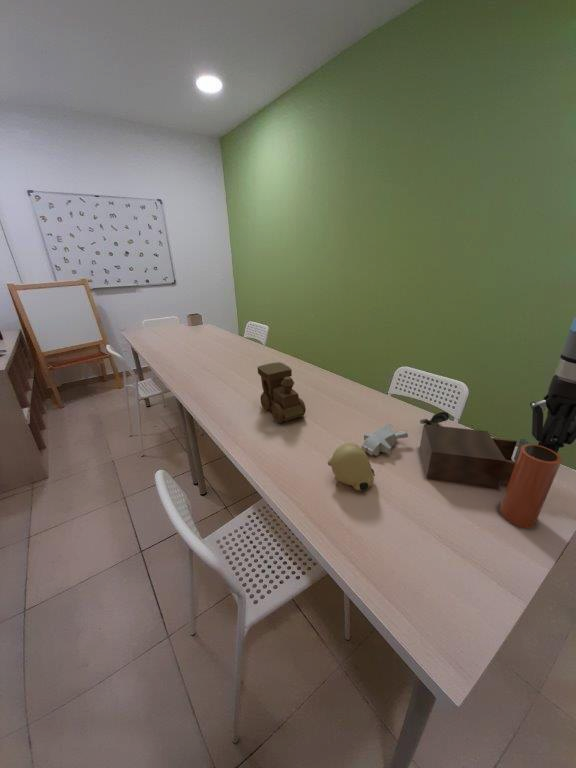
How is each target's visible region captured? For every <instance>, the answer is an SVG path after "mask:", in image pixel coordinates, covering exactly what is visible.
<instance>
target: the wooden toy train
mask: <svg viewBox="0 0 576 768" xmlns="http://www.w3.org/2000/svg"><path fill="white" fill-rule="evenodd" d="M292 371H293V369H292V368H290V366H288V365H286V364H285V363H283V362H280V361H279V362H271V363H270V362H269V363H266V364H265V363H264V364H262V365H259V366H257V374H258V375H259V376H260V380H261V387H262V393H261V395H260V404H261V407H262V409H263V410H264V411H266V412H267V411H270V410H272V411H271V413H272V417H273V419H274V420H275V422H277V423H278V424H279V423H281V424H282V422H284V421H285V422H288V421H290V420H294V419H296V418H297V419H298V418H300V417H304V416H305V414H306V411H307V410H306V409H307V408H306V405H305V402H304V400H303V399H302V398H301V397H300V396H299V393H298V392H297V391H296V390H295V389H293V388H294V385H295V381H294V379H293V378H292V377H293V376H292V375H293V373H292Z"/></svg>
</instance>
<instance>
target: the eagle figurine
mask: <svg viewBox="0 0 576 768" xmlns="http://www.w3.org/2000/svg"><path fill="white" fill-rule="evenodd" d="M449 418H450V414H449V413H448V412H446V411H440V412H438V413H435V414H433V415H432V417H431V418H430V419H428V418H422V419H420V420H419V424H421V425H434V426H442V425H441V424H440V423H443V422H447V421H448V420H449Z"/></svg>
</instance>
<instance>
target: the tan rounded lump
mask: <svg viewBox="0 0 576 768" xmlns="http://www.w3.org/2000/svg"><path fill="white" fill-rule="evenodd" d="M327 466H329V467H331V470H332V473H333V475H334V480H335V482H341V483H343V484H345V485H348V486H352V488H353V489H354V490H355V491H359V492H360V491H361V492H365V491H367V490H368V489H369V488H370V487H371V486H372V484H373V482H374V480H375V479H374V478H375V475H376V474H375V470H374V469H373V468H372V464H371V462H370V460H369V457H368V455H367V454H366V452H365V451H364V450H362V446H359V445H358V444H357V443H355V442H349V443H345V444H341V445H340V446H338V447H337V448H336V449H335V450H334V452H333V454H332V456H331V458H330V459H328V461H327Z"/></svg>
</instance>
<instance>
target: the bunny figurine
mask: <svg viewBox="0 0 576 768" xmlns="http://www.w3.org/2000/svg"><path fill="white" fill-rule="evenodd" d="M393 428H394V425H393V424H392V423H387V424H386V425H385V427H379V428H377V429H376V430H375V432H374V433H368V432H367V433H366V432H365V433H364V434H363V443H362V445H361V448H362V450H363V451H364V452H365V453H367V454H369V455H370V456H376V457H377V456H379V454H380V453H384V454H388V455H391V454H392V448H393V446H394V445H395V444H396V441H397V440H398V439H406V438H409V434H408V432H407V430H399V431H396V432H393V431H392V430H393Z"/></svg>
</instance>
